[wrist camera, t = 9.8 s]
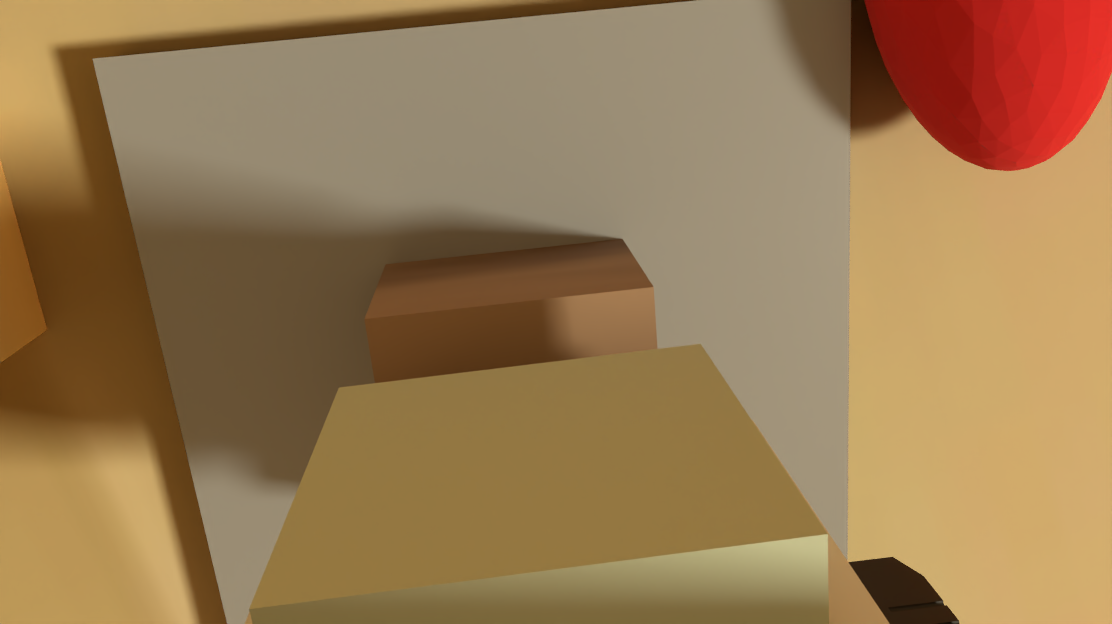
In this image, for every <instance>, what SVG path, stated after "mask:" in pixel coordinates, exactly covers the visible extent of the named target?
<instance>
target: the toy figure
mask: <svg viewBox="0 0 1112 624" xmlns="http://www.w3.org/2000/svg"><path fill="white" fill-rule="evenodd" d="M864 1H865V5H866V8H867V12H868V16H869V19H870V23H871V26H872V30H873V34H874V37H875V41H876V44H877V46H878V49H879V52H880V54H881V57H882V59H883V62H884V65H885V67H886V69H887V71H888V73H889V75H890V77H891V79H892V81H893V82H894V84H895V86H896V88H897V90H898V92H899V94H900V96H901V97H902V99H903V100H904V102H905V103H906V105H907V106H908V108H909V109H910V110H911V112H912V113H913V115H914V116H915V118H916V119H917V120H918V121H919V123H920V124H921V125H922V126H923V127H924V128H925V129H926V130H927V131H928V133H929V134H930V135H931V136H932V137H933V138H934V139H935V140H937V141H938V142H939V143H940V144H941V145H943V146H944V147H945V148H946V149H947V150H948V151H950V152H952V153H953V154H955V155H957V156H958V157H960V158H962V159H963V160H965V161H968V162H970V163H973V164H975V165H978V166H980V167H983V168H985V169H992V170H1003V171H1014V170H1020V169H1025V168H1029V167H1032V166H1034V165H1036V164H1039V163H1041V162H1044V161H1046V160H1047V159H1049V158H1051V157H1052V156H1054V155H1055V154H1056V153H1057V152H1059V151H1060V150H1061V149H1062V148H1064V147H1065V146H1066V145H1067V144H1069V143H1070V142H1071V141H1072V140H1073V139H1074V138H1075V137H1076V135H1077V134H1078V133H1079V132H1080V130H1081V129H1082V128H1083V126H1084V125H1085V124H1086V122H1087V121H1088V120H1089V118H1090V116H1091V115H1092V113H1093V111H1094V109H1095V108H1096V106H1097V104H1098V103H1099V101H1100V99H1101V98H1102V95H1103V93H1104V90H1105V88H1106V85H1107V83H1108V80H1109V78H1110V75H1111V73H1112V0H864Z"/></svg>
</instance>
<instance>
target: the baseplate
mask: <svg viewBox="0 0 1112 624" xmlns="http://www.w3.org/2000/svg"><path fill="white" fill-rule="evenodd" d="M93 63H94V67H95V72H96V76H97V80H98V84H99V88H100V93H101V97H102V101H103V105H104V109H105V114H106V118H107V122H108V126H109V130H110V135H111V139H112V143H113V147H114V151H115V156H116V160H117V164H118V168H119V172H120V177H121V181H122V185H123V189H124V193H125V197H126V202H127V206H128V210H129V214H130V218H131V223H132V227H133V231H134V235H135V239H136V244H137V248H138V252H139V256H140V260H141V265H142V269H143V273H144V277H145V281H146V286H147V290H148V294H149V298H150V302H151V307H152V311H153V315H154V319H155V323H156V328H157V332H158V336H159V340H160V344H161V349H162V353H163V357H164V361H165V365H166V370H167V374H168V378H169V382H170V386H171V390H172V395H173V399H174V403H175V407H176V411H177V416H178V420H179V424H180V428H181V432H182V437H183V441H184V445H185V449H186V453H187V458H188V462H189V466H190V470H191V474H192V479H193V483H194V487H195V491H196V495H197V500H198V504H199V508H200V512H201V516H202V521H203V525H204V529H205V533H206V537H207V542H208V546H209V550H210V554H211V558H212V563H213V567H214V571H215V575H216V579H217V583H218V588H219V592H220V596H221V600H222V604H223V609H224V613H225V617H226V621H227V624H245V622H246V619H247V617H248V614H249V612H250V611H249V608H250V606H251V603H252V601H253V598H254V596H255V593H256V591H257V588H258V586H259V583H260V581H261V578H262V576H263V573H264V571H265V569H266V566H267V564H268V561H269V559H270V556H271V554H272V551H273V549H274V546H275V544H276V541H277V539H278V537H279V534H280V532H281V529H282V527H283V524H284V522H285V519H286V517H287V514H288V512H289V509H290V507H291V504H292V502H293V500H294V497H295V495H296V492H297V490H298V487H299V485H300V482H301V480H302V477H303V475H304V472H305V470H306V468H307V465H308V463H309V460H310V458H311V455H312V453H313V450H314V448H315V445H316V443H317V440H318V438H319V435H320V433H321V431H322V428H323V426H324V423H325V421H326V418H327V416H328V413H329V411H330V408H331V406H332V403H333V401H334V399H335V396H336V394H337V391H338V389H339V388H340V387H348V386H356V385H365V384H373V383H375V381H374V375H373V369H372V363H371V356H370V350H369V344H368V338H367V332H366V326H365V320H364V319H365V316H366V314H367V311H368V308H369V306H370V303H371V301H372V298H373V296H374V293H375V290H376V288H377V285H378V283H379V280H380V278H381V275H382V272H383V270H384V267H385V265H386V264H393V263H403V262H412V261H421V260H430V259H440V258H449V257H458V256H467V255H477V254H486V253H495V252H504V251H514V250H523V249H532V248H541V247H551V246H560V245H569V244H578V243H588V242H597V241H606V240H615V239H623V240H624V242H625V243H626V245H627V246H628V248H629V250H630V251H631V253H632V254H633V256H634V257H635V259H636V260H637V262H638V263H639V265H640V267H641V268H642V270H643V271H644V273H645V274H646V276H647V277H648V279H649V280H650V282H651V284H652V285H653V287H654V300H655V316H656V332H657V349H661V348H670V347H678V346H686V345H694V344H701V345H702V346H703V348H704V349H705V351H706V352H707V354H708V355H709V357H710V358H711V360H712V361H713V363H714V364H715V366H716V367H717V369H718V370H719V372H720V373H721V375H722V376H723V378H724V379H725V381H726V382H727V384H728V385H729V387H730V388H731V390H732V391H733V393H734V394H735V396H736V397H737V399H738V400H739V402H740V403H741V405H742V406H743V408H744V409H745V411H746V412H747V414H748V415H749V417H750V418H751V420H753V421H754V423H755V424H756V426H757V427H758V429H759V430H760V432H761V433H762V435H763V436H764V438H765V439H766V440H767V442H768V443H769V445H770V446H771V448H772V449H773V451H774V452H775V454H776V455H777V457H778V458H779V460H780V461H781V463H782V464H783V466H784V467H785V469H786V470H787V472H788V473H789V475H790V476H791V478H792V479H793V481H794V482H795V484H796V485H797V487H798V488H799V490H800V491H801V493H802V494H803V496H804V497H805V499H806V500H807V502H808V503H809V504H810V506H811V507H812V509H813V510H814V512H815V513H816V515H817V516H818V518H819V519H820V521H821V522H822V524H823V525H824V527H825V528H826V530H827V531H828V533H829V534H830V536H831V537H832V539H833V540H834V542H835V543H836V545H837V546H838V548H839V549H840V551H841V552H842V554H843V555H844V557H845V558H846V560H847V541H848V391H849V241H850V91H851V0H694V1H684V2H674V3H663V4H653V5H643V6H632V7H622V8H612V9H601V10H591V11H580V12H570V13H560V14H549V15H539V16H529V17H518V18H508V19H498V20H487V21H477V22H467V23H456V24H446V25H435V26H425V27H415V28H404V29H394V30H384V31H373V32H363V33H353V34H342V35H332V36H322V37H311V38H301V39H290V40H280V41H270V42H259V43H249V44H239V45H228V46H218V47H208V48H197V49H187V50H176V51H166V52H156V53H145V54H135V55H125V56H114V57H104V58H95V59H93Z"/></svg>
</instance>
